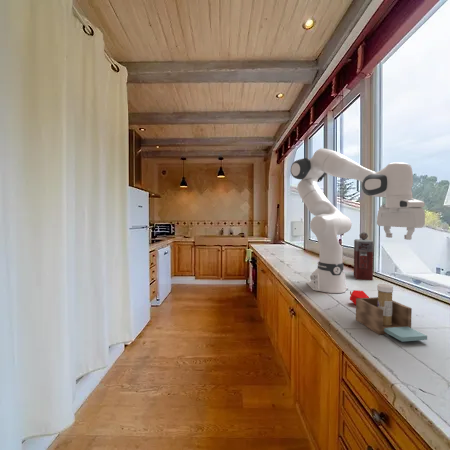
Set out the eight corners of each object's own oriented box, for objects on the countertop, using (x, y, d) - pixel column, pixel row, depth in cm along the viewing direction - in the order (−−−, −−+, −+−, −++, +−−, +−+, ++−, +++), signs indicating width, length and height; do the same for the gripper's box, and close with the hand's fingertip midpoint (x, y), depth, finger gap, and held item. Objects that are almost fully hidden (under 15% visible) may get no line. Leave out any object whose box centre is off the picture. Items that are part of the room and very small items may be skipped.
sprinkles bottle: (374, 320, 92) (374, 283, 92) (387, 321, 92) (387, 283, 92) (381, 326, 88) (382, 286, 87) (395, 326, 88) (396, 286, 87)
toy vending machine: (356, 280, 154) (357, 232, 153) (353, 276, 165) (354, 231, 164) (373, 281, 151) (374, 233, 150) (369, 277, 162) (370, 232, 161)
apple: (372, 292, 112) (353, 283, 115) (371, 299, 107) (351, 290, 110) (365, 304, 115) (346, 296, 118) (364, 312, 109) (345, 303, 112)
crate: (355, 319, 96) (356, 298, 95) (384, 318, 97) (384, 296, 97) (379, 334, 84) (379, 310, 84) (411, 332, 85) (411, 308, 85)
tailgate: (384, 327, 84) (401, 337, 77) (407, 326, 85) (427, 335, 78) (384, 331, 84) (401, 341, 77) (407, 330, 85) (427, 339, 78)
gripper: (373, 204, 113) (372, 236, 113) (413, 202, 93) (412, 241, 93) (386, 204, 114) (385, 236, 114) (428, 202, 93) (428, 240, 94)
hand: (398, 238), depth 104 cm, fingers open, 8 cm apart
